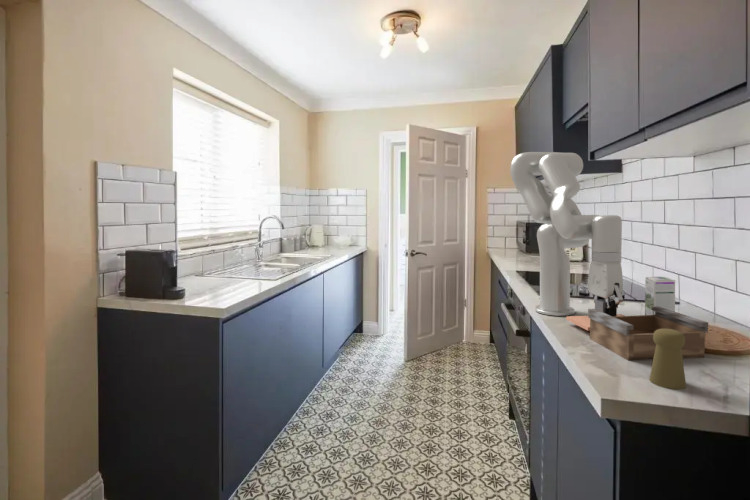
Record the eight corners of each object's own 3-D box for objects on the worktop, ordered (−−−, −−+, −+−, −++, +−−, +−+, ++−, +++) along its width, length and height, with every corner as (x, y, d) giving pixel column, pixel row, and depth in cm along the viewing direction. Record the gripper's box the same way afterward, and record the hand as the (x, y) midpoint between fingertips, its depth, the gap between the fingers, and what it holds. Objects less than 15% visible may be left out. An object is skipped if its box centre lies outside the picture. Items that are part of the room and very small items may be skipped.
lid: (566, 319, 120) (566, 297, 120) (621, 317, 120) (621, 295, 120) (587, 330, 108) (588, 306, 108) (648, 328, 109) (649, 303, 108)
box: (587, 338, 107) (588, 308, 106) (656, 335, 107) (657, 306, 106) (625, 360, 91) (626, 325, 90) (706, 357, 91) (708, 322, 90)
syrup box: (675, 328, 113) (677, 279, 111) (652, 328, 114) (654, 279, 112) (664, 323, 118) (666, 276, 117) (643, 322, 119) (644, 276, 118)
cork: (674, 391, 75) (676, 336, 74) (642, 380, 80) (644, 328, 79) (693, 385, 77) (695, 331, 76) (660, 374, 83) (662, 324, 82)
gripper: (578, 255, 121) (577, 312, 123) (611, 261, 104) (610, 327, 106) (601, 254, 121) (601, 311, 123) (638, 260, 105) (637, 326, 106)
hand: (605, 318), depth 114 cm, fingers closed on lid, 4 cm apart
